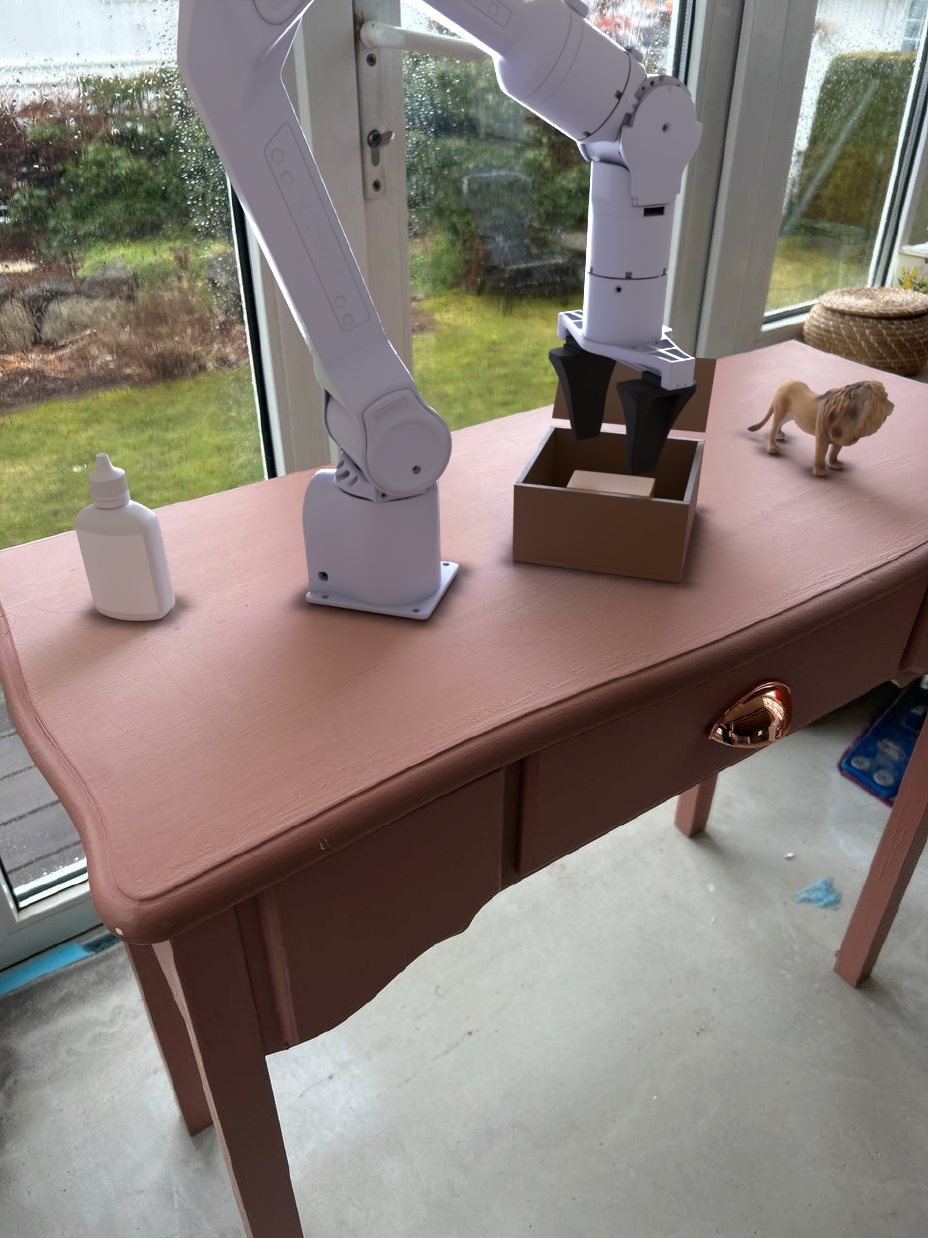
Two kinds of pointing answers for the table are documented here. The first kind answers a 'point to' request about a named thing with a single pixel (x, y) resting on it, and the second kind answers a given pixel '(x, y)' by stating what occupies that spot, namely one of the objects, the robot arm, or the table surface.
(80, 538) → the eye dropper bottle
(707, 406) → the flap
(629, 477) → the beige block
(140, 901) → the table surface
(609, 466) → the bread box
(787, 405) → the lion figurine
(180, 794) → the table surface
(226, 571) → the table surface
